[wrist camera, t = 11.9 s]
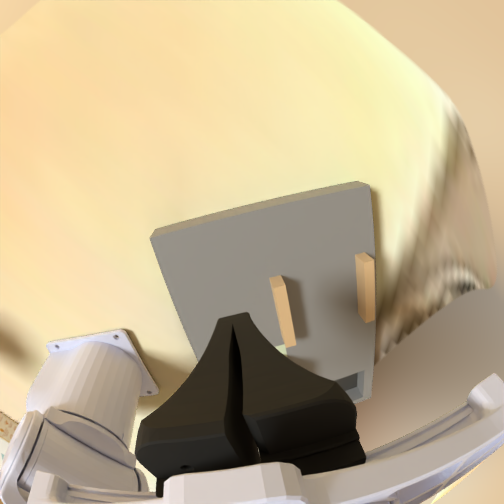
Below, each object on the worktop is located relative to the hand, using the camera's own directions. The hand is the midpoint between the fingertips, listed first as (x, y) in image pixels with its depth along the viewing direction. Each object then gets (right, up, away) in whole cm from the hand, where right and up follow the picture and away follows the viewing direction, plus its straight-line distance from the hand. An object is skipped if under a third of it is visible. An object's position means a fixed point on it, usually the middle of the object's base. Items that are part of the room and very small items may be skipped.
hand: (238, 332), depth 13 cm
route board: (+3, -3, +12) cm, 13 cm away
